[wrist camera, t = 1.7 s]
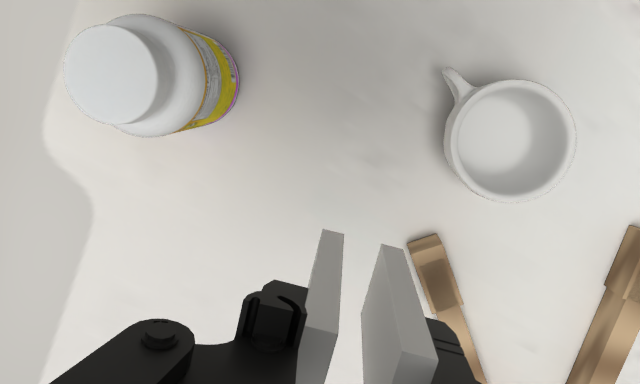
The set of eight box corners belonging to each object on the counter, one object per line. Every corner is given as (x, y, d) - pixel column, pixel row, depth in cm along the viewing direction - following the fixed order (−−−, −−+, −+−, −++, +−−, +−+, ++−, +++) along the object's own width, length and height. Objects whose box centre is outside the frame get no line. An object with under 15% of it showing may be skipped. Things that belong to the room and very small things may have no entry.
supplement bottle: (143, 104, 34) (24, 111, 22) (171, 20, 33) (60, -25, 20) (224, 139, 35) (151, 166, 22) (255, 57, 33) (196, 35, 21)
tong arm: (513, 454, 39) (523, 477, 36) (486, 461, 39) (494, 485, 37) (436, 233, 35) (442, 243, 32) (406, 243, 35) (410, 254, 33)
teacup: (563, 141, 33) (603, 150, 28) (477, 206, 34) (500, 227, 29) (479, 33, 32) (504, 22, 27) (394, 106, 33) (402, 109, 28)
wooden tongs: (542, 498, 40) (557, 531, 37) (495, 486, 40) (506, 517, 37) (660, 233, 34) (689, 246, 31) (604, 218, 34) (628, 230, 31)
